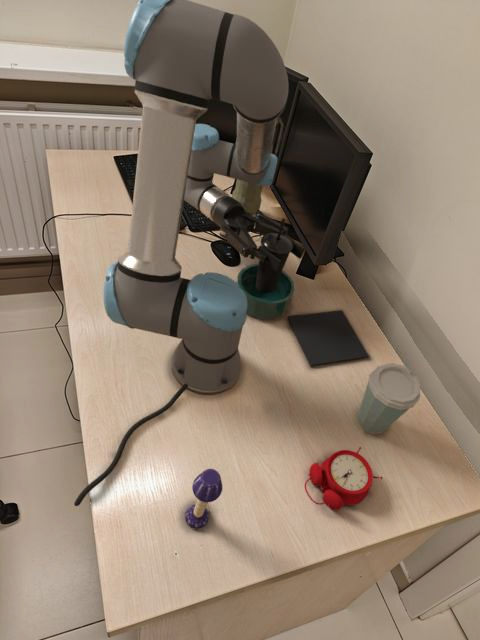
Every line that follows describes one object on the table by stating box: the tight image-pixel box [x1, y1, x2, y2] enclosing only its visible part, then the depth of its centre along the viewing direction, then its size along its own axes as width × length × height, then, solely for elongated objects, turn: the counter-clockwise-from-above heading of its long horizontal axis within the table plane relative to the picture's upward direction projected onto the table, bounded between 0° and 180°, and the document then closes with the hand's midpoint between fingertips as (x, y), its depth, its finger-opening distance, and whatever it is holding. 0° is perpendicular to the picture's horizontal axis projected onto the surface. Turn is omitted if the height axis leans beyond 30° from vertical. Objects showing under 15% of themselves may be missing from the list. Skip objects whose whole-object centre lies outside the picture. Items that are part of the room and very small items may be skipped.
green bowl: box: [235, 263, 296, 320], centre depth 118 cm, size 15×15×6 cm
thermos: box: [231, 116, 285, 214], centre depth 131 cm, size 9×12×35 cm
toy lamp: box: [184, 468, 223, 530], centre depth 75 cm, size 5×5×17 cm
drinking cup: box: [256, 218, 293, 293], centre depth 109 cm, size 8×8×20 cm
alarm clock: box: [304, 446, 383, 511], centre depth 89 cm, size 10×6×15 cm
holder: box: [286, 309, 370, 368], centre depth 116 cm, size 16×16×1 cm
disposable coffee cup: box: [357, 362, 421, 435], centre depth 96 cm, size 11×11×15 cm
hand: (290, 259), depth 106 cm, fingers closed on drinking cup, 8 cm apart
